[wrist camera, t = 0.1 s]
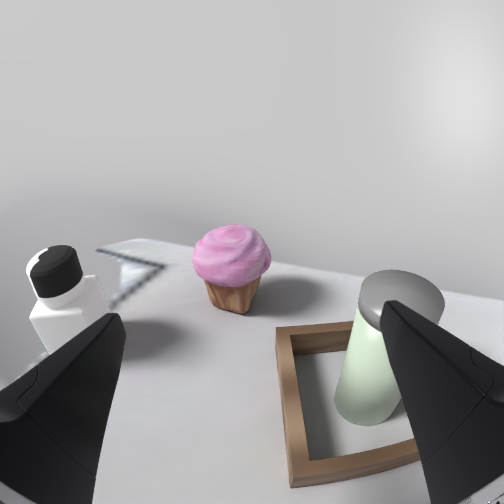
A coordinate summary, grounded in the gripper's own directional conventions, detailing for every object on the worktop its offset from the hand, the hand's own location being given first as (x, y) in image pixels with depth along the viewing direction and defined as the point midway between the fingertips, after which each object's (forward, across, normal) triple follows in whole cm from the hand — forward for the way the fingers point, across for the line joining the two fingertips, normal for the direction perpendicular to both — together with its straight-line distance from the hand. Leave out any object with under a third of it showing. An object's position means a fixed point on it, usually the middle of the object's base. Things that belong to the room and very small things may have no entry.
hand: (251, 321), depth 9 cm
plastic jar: (+7, -10, +17) cm, 20 cm away
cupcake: (+23, +2, +16) cm, 28 cm away
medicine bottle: (+15, +20, +16) cm, 30 cm away
